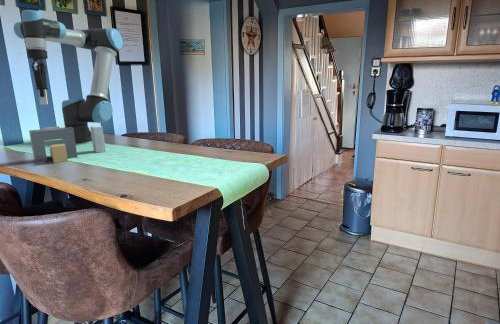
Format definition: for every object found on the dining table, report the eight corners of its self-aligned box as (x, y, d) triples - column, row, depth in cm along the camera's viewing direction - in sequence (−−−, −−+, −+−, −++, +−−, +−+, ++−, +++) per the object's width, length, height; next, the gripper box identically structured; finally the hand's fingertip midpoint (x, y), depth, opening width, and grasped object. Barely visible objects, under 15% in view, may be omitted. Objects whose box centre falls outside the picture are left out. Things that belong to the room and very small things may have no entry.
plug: (61, 154, 155) (59, 140, 154) (67, 161, 143) (65, 145, 141) (49, 156, 152) (47, 141, 151) (54, 163, 140) (51, 146, 138)
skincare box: (106, 151, 161) (103, 126, 158) (96, 153, 158) (93, 127, 155) (102, 149, 166) (99, 125, 163) (92, 150, 163) (89, 126, 160)
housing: (74, 154, 155) (70, 125, 151) (77, 157, 150) (73, 126, 147) (34, 160, 146) (28, 128, 142) (35, 162, 141) (30, 130, 137)
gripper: (31, 50, 150) (38, 103, 155) (21, 47, 138) (30, 105, 143) (50, 50, 152) (56, 103, 158) (42, 47, 140) (50, 105, 146)
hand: (44, 104), depth 150 cm, fingers closed
